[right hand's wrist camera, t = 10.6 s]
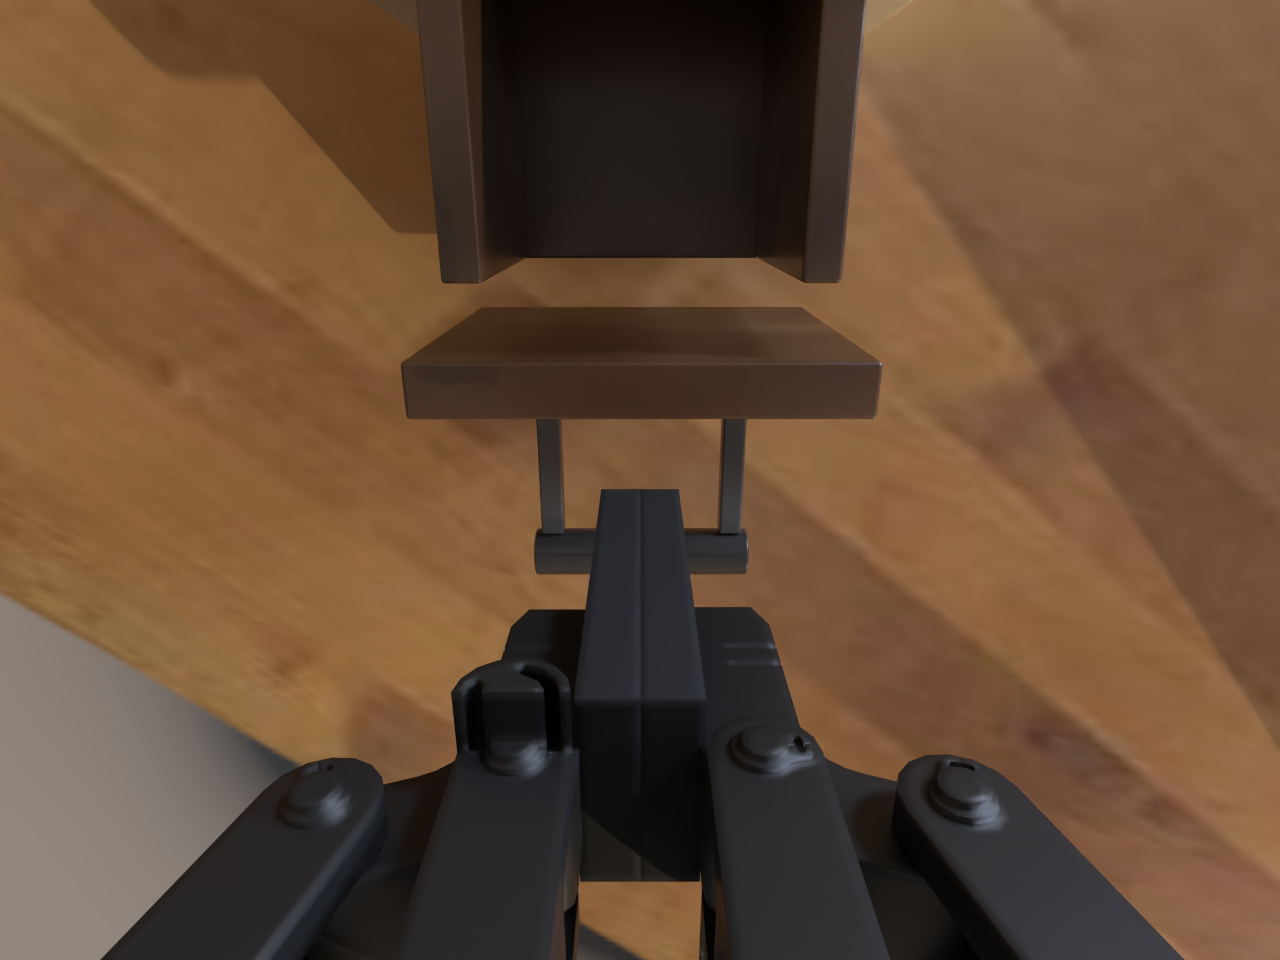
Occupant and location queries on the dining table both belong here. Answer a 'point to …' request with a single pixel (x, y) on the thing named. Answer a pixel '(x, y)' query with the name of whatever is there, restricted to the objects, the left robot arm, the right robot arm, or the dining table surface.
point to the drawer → (641, 220)
